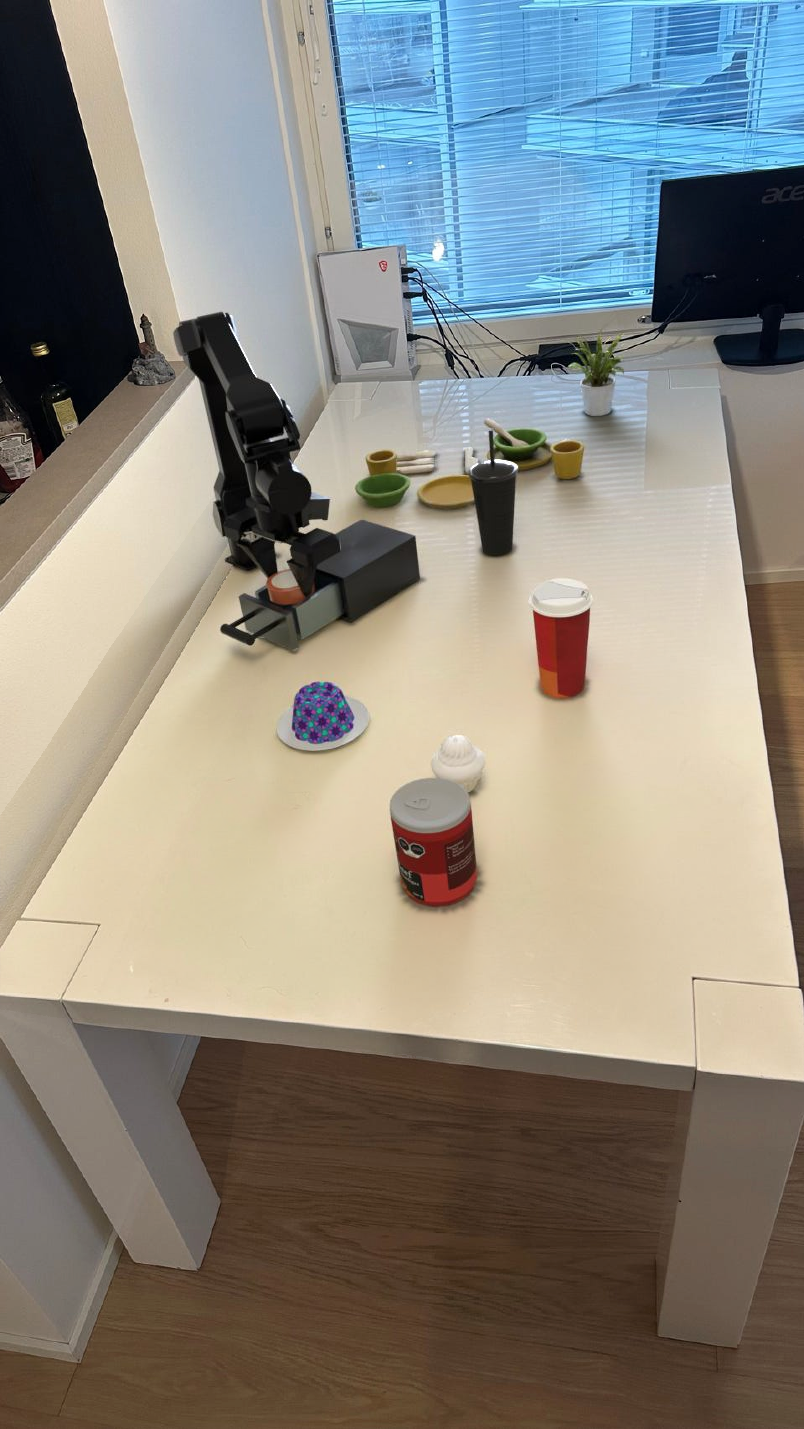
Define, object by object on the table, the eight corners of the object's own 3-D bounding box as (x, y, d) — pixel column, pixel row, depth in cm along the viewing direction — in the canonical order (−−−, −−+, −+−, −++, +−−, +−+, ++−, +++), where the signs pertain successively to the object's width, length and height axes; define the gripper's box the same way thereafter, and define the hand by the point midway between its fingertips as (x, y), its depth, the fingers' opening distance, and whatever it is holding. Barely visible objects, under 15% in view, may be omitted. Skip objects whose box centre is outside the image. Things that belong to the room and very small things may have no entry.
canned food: (398, 860, 108) (386, 782, 102) (472, 850, 108) (464, 771, 102) (404, 913, 102) (391, 833, 95) (482, 903, 102) (475, 822, 95)
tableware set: (577, 441, 196) (577, 409, 193) (589, 502, 174) (589, 467, 170) (368, 458, 201) (364, 427, 198) (354, 519, 179) (349, 485, 175)
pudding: (348, 761, 123) (342, 727, 120) (261, 748, 127) (253, 714, 124) (384, 704, 132) (379, 671, 129) (301, 694, 136) (294, 661, 133)
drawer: (262, 670, 140) (254, 634, 137) (215, 648, 146) (207, 613, 143) (363, 606, 151) (358, 572, 148) (316, 589, 158) (310, 555, 154)
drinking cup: (518, 560, 160) (513, 438, 148) (470, 560, 162) (461, 440, 150) (523, 538, 166) (518, 419, 154) (477, 538, 167) (469, 421, 156)
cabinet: (350, 623, 150) (343, 578, 145) (298, 602, 157) (289, 558, 152) (420, 579, 158) (415, 535, 154) (367, 561, 165) (361, 519, 161)
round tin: (259, 599, 147) (256, 582, 146) (294, 579, 151) (290, 563, 149) (290, 612, 143) (287, 595, 141) (325, 591, 147) (322, 575, 145)
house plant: (554, 426, 204) (553, 344, 195) (558, 402, 215) (556, 323, 206) (627, 423, 201) (629, 340, 192) (626, 399, 212) (628, 319, 203)
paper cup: (597, 672, 132) (598, 578, 124) (586, 706, 127) (586, 609, 119) (539, 666, 135) (536, 574, 127) (525, 699, 129) (521, 604, 121)
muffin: (434, 770, 120) (428, 723, 116) (486, 767, 119) (482, 720, 115) (433, 805, 115) (427, 757, 111) (487, 802, 114) (483, 753, 110)
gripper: (361, 479, 136) (375, 581, 145) (270, 455, 147) (289, 551, 156) (301, 511, 130) (319, 615, 139) (211, 482, 141) (234, 581, 150)
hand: (291, 588), depth 146 cm, fingers closed on round tin, 7 cm apart
